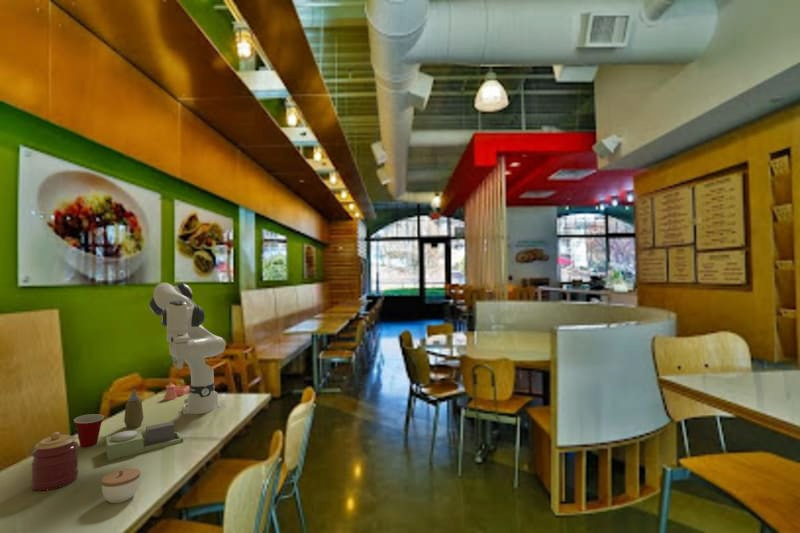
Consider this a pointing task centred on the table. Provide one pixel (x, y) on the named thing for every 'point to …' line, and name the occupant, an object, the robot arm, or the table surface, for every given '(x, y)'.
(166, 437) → the tall grey box
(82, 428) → the plastic cup
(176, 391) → the pottery
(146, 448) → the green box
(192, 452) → the table surface
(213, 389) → the robot arm
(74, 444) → the canister
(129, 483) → the lidded jar
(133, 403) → the squeeze bottle
